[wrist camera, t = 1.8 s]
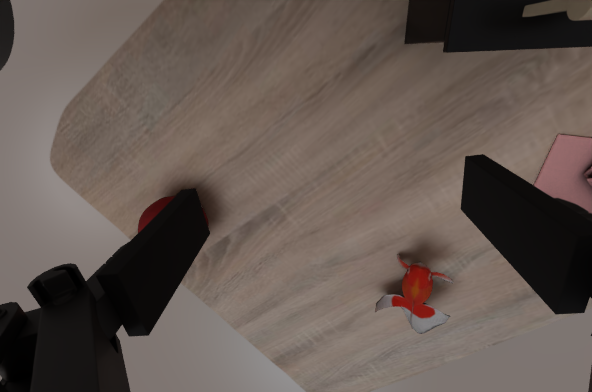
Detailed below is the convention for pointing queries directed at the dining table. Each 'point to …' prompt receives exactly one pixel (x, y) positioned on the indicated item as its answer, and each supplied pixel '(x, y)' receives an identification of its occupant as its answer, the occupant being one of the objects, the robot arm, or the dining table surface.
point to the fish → (416, 297)
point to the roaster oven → (427, 21)
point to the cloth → (568, 171)
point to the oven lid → (518, 25)
